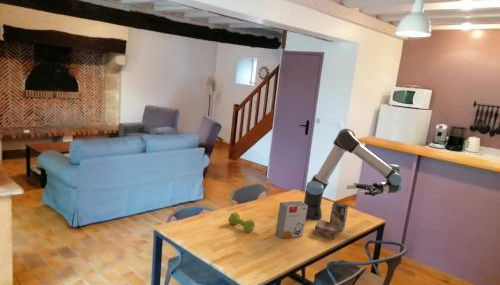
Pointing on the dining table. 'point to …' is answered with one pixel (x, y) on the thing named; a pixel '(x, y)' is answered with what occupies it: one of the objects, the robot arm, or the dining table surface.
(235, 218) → the dumbbell
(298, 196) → the dining table surface
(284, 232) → the hard drive box
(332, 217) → the coffee box
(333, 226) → the walnut block
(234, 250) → the dining table surface
